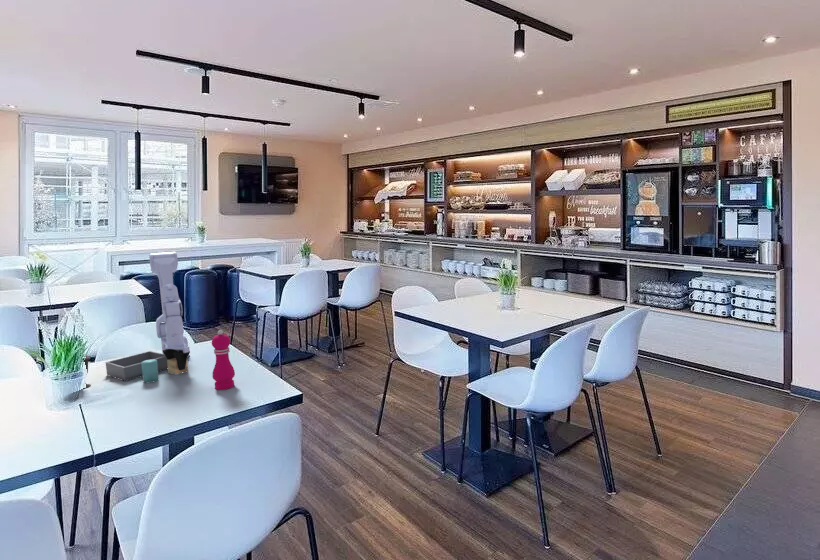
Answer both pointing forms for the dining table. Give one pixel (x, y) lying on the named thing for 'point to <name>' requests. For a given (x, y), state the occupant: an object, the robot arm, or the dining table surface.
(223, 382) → the pepper mill
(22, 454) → the dining table surface
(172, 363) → the oak cube
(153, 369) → the teal block
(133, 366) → the tote
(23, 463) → the dining table surface
